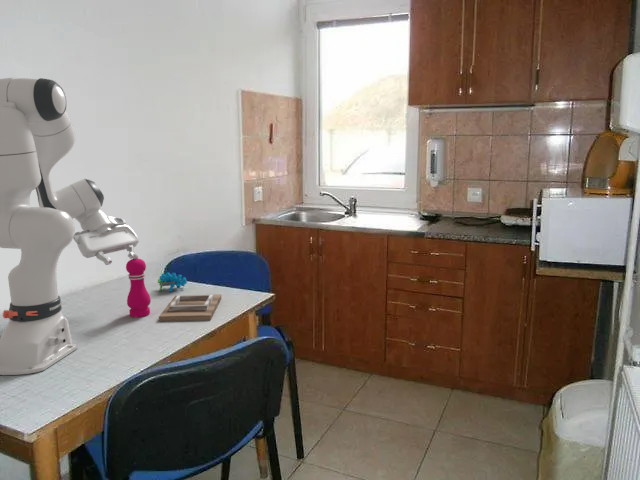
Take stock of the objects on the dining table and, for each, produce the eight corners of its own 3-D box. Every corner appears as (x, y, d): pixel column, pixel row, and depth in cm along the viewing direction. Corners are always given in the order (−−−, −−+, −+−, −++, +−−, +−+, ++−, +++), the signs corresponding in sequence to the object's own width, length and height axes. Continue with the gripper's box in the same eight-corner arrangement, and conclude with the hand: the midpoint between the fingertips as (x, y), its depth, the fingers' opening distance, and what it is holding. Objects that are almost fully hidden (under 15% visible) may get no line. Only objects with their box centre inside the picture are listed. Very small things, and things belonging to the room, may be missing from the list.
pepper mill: (142, 319, 166) (137, 257, 162) (123, 316, 168) (117, 255, 164) (156, 311, 172) (151, 252, 169) (137, 309, 175) (132, 251, 171)
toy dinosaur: (192, 282, 200) (179, 269, 192) (189, 296, 197) (176, 283, 189) (165, 285, 203) (152, 272, 195) (162, 299, 199) (149, 286, 192)
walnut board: (210, 319, 164) (210, 310, 164) (159, 321, 164) (158, 311, 163) (221, 298, 186) (221, 290, 185) (175, 299, 185) (175, 291, 185)
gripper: (74, 227, 163) (97, 261, 160) (128, 217, 180) (150, 248, 177) (66, 239, 166) (89, 273, 163) (120, 229, 183) (142, 260, 180)
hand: (121, 260), depth 170 cm, fingers open, 8 cm apart
